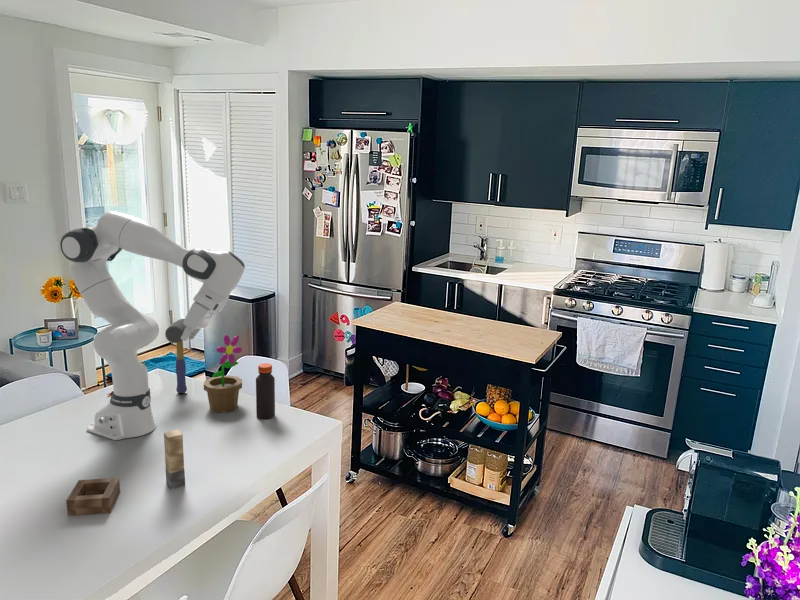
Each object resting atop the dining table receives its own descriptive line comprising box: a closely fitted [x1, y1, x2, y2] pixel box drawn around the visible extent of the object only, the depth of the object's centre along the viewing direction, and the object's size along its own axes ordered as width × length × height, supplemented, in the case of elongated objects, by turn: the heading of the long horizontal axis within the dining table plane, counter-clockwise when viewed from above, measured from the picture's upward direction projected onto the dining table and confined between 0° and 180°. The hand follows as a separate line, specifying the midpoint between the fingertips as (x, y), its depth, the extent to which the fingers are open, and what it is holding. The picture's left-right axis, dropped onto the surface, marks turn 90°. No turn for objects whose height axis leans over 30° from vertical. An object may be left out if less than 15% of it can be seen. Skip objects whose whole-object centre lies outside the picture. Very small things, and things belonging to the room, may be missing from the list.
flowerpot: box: [203, 334, 243, 413], centre depth 229 cm, size 14×14×30 cm
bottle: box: [255, 362, 276, 421], centre depth 223 cm, size 7×7×20 cm
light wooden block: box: [163, 429, 186, 490], centre depth 175 cm, size 4×4×16 cm
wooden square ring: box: [65, 477, 121, 517], centre depth 165 cm, size 10×10×4 cm
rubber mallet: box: [165, 318, 188, 394], centre depth 240 cm, size 12×8×30 cm, turn 1°
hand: (186, 339), depth 186 cm, fingers open, 8 cm apart
